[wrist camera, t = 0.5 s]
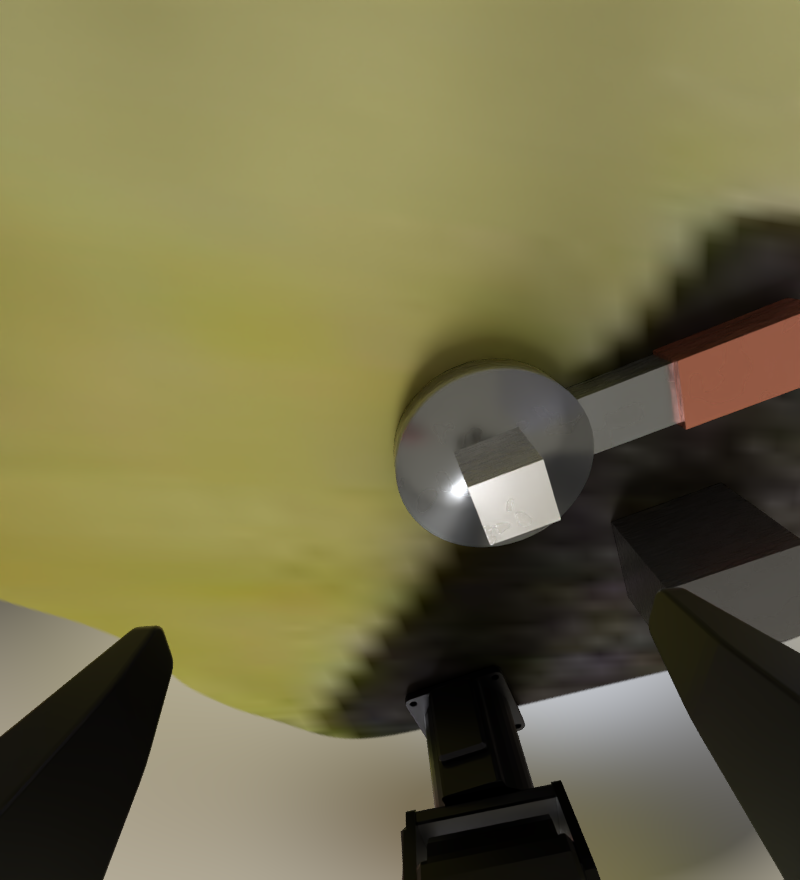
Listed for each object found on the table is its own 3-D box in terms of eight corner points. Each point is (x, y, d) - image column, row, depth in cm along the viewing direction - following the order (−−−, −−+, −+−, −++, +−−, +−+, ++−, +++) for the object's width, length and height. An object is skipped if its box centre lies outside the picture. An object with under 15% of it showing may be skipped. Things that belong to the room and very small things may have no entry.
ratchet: (787, 232, 18) (916, 233, 14) (788, 417, 22) (890, 463, 18) (363, 404, 20) (363, 452, 16) (431, 547, 24) (445, 617, 20)
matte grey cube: (728, 563, 26) (805, 633, 22) (628, 597, 27) (681, 672, 22) (722, 482, 24) (806, 543, 19) (611, 522, 24) (667, 589, 20)
